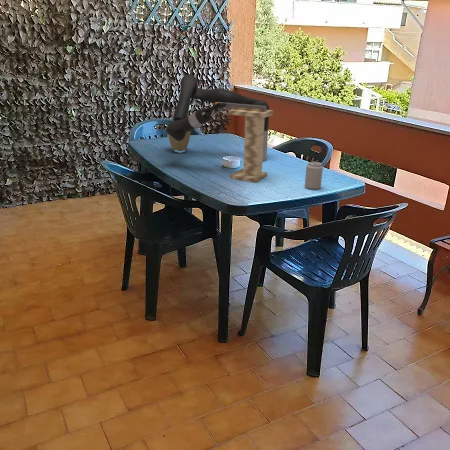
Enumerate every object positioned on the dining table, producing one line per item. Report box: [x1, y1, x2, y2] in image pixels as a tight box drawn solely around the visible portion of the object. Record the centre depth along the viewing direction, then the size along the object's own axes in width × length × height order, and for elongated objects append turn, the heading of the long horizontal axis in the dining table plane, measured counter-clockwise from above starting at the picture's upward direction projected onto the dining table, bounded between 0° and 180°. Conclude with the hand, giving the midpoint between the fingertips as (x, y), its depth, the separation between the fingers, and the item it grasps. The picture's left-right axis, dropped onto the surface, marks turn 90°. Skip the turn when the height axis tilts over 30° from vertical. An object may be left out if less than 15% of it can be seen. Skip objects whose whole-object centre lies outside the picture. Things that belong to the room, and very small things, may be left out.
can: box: [304, 161, 324, 191], centre depth 212 cm, size 8×8×12 cm
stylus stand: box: [228, 107, 275, 184], centre depth 222 cm, size 18×14×34 cm
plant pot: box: [166, 124, 192, 151], centre depth 276 cm, size 15×15×16 cm
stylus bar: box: [214, 102, 266, 112], centre depth 218 cm, size 26×2×2 cm, turn 63°
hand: (224, 103), depth 221 cm, fingers open, 8 cm apart
